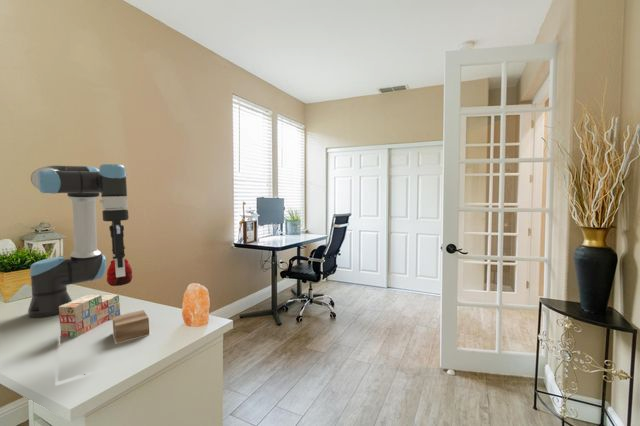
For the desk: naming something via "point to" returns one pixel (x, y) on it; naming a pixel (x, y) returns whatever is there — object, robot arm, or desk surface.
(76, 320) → the stack of blocks
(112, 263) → the red clay folk toy
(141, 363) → the desk surface
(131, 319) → the plinth
